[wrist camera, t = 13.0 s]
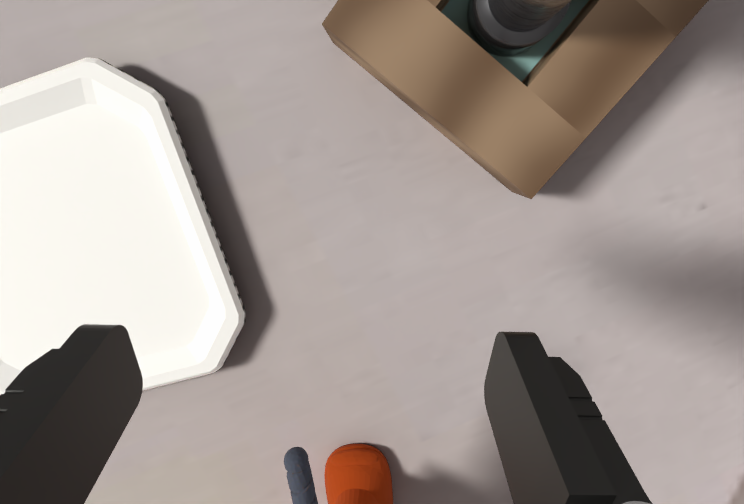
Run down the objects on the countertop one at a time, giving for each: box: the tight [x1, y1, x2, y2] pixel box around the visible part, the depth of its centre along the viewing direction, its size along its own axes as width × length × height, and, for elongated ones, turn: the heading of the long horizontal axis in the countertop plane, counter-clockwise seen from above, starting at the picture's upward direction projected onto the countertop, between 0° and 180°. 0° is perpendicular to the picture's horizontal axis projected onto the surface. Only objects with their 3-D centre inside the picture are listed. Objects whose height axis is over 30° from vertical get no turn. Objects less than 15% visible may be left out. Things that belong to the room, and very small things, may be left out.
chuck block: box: [322, 0, 708, 199], centre depth 23 cm, size 14×14×4 cm
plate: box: [0, 57, 246, 395], centre depth 29 cm, size 21×21×2 cm
